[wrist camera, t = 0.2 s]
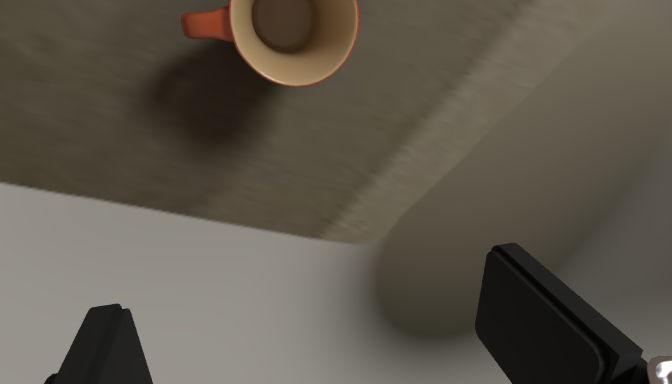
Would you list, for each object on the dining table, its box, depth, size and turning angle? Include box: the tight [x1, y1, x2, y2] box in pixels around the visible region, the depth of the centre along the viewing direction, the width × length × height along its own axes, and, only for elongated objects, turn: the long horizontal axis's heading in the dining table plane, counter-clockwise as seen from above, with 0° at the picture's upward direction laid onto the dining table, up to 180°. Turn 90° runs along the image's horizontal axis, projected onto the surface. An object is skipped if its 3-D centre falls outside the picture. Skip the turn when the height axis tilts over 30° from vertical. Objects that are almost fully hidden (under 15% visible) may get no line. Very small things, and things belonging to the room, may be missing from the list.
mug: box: [181, 0, 359, 87], centre depth 31 cm, size 12×9×10 cm
